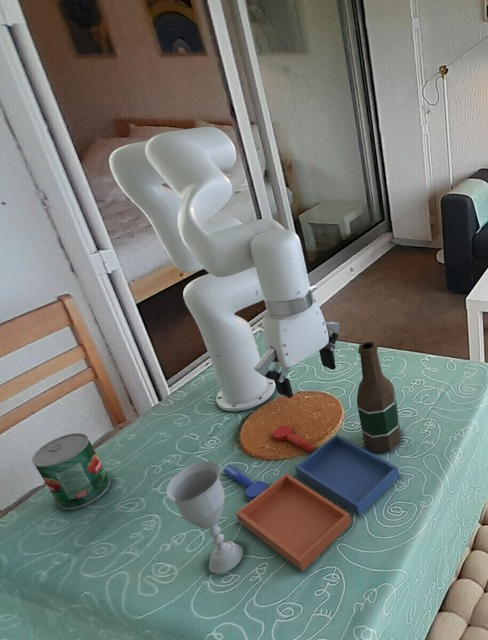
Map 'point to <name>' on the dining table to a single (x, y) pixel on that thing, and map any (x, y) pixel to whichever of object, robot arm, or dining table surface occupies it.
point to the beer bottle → (376, 403)
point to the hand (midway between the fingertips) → (308, 380)
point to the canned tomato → (72, 470)
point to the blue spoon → (246, 482)
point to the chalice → (205, 509)
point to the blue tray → (347, 473)
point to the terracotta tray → (294, 520)
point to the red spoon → (291, 438)
